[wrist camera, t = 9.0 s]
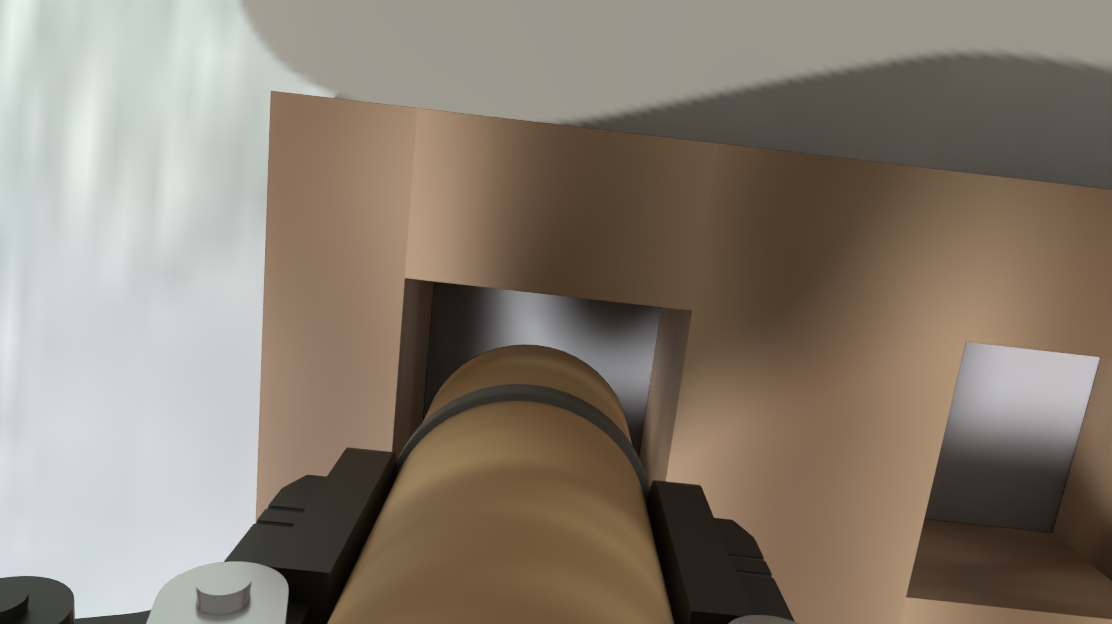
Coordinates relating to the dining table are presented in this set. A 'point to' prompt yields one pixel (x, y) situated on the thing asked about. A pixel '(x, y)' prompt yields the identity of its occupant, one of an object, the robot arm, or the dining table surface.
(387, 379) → the walnut board
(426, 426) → the wooden pepper mill
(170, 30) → the dining table surface
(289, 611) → the robot arm
